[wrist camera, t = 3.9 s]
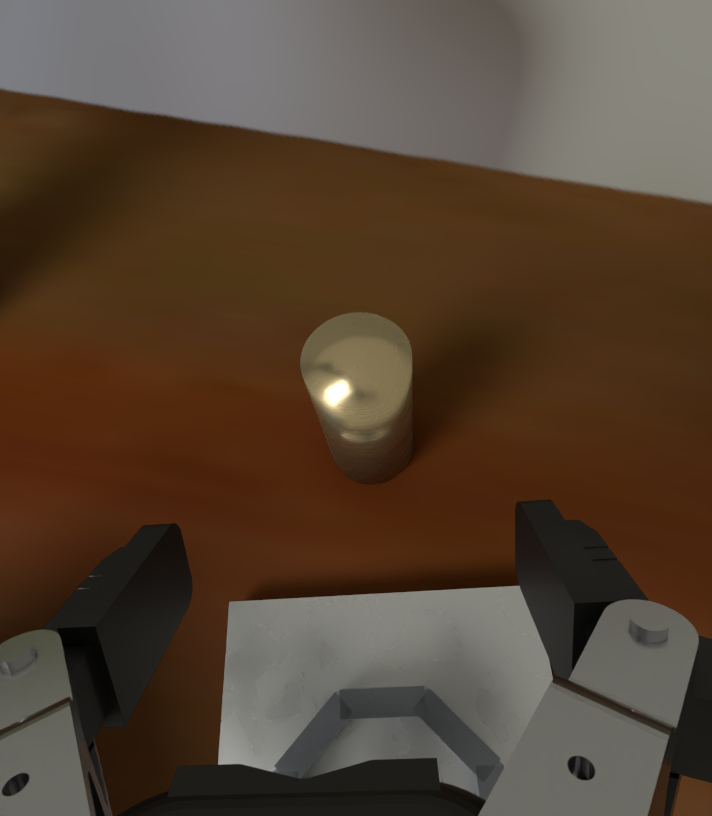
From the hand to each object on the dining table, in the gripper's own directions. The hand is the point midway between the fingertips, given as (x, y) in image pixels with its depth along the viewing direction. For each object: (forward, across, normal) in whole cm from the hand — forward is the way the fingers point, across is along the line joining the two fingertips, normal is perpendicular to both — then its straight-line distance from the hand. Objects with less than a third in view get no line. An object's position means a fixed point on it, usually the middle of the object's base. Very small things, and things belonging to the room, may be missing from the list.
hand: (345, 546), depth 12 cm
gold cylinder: (+16, 0, +4) cm, 16 cm away
